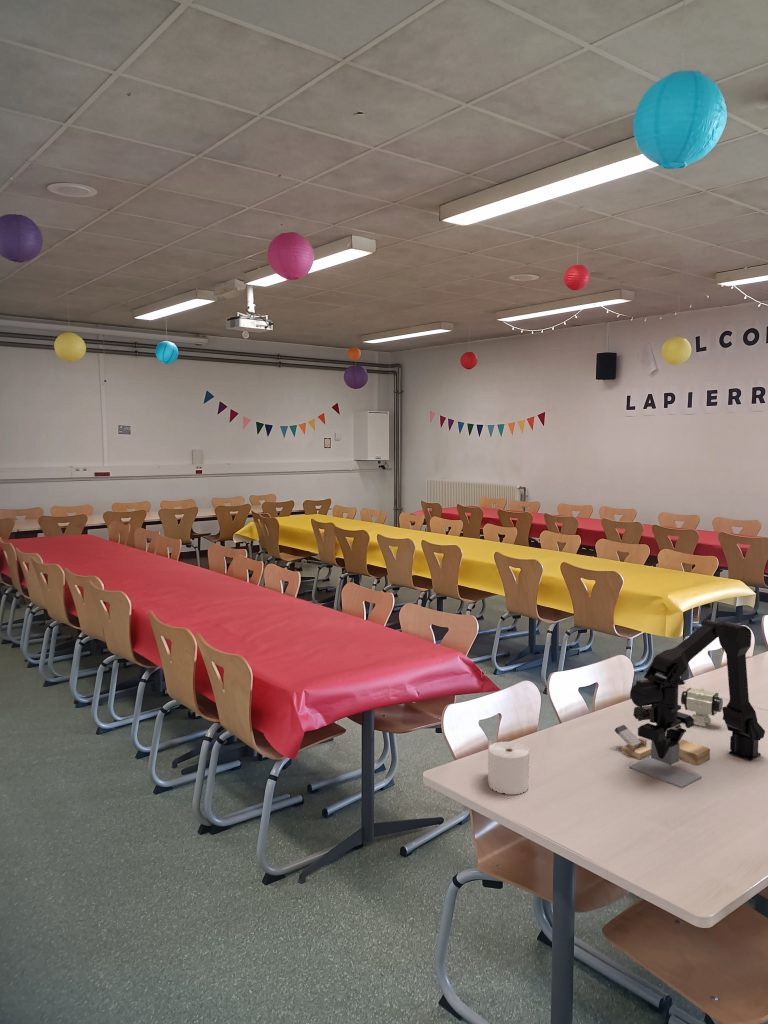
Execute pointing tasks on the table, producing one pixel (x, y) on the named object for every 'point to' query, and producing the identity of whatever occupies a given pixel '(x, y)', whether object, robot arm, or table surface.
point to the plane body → (693, 752)
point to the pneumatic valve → (701, 704)
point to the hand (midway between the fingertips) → (665, 756)
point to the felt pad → (665, 772)
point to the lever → (628, 736)
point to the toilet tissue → (508, 767)
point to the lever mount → (637, 750)
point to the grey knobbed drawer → (667, 753)
